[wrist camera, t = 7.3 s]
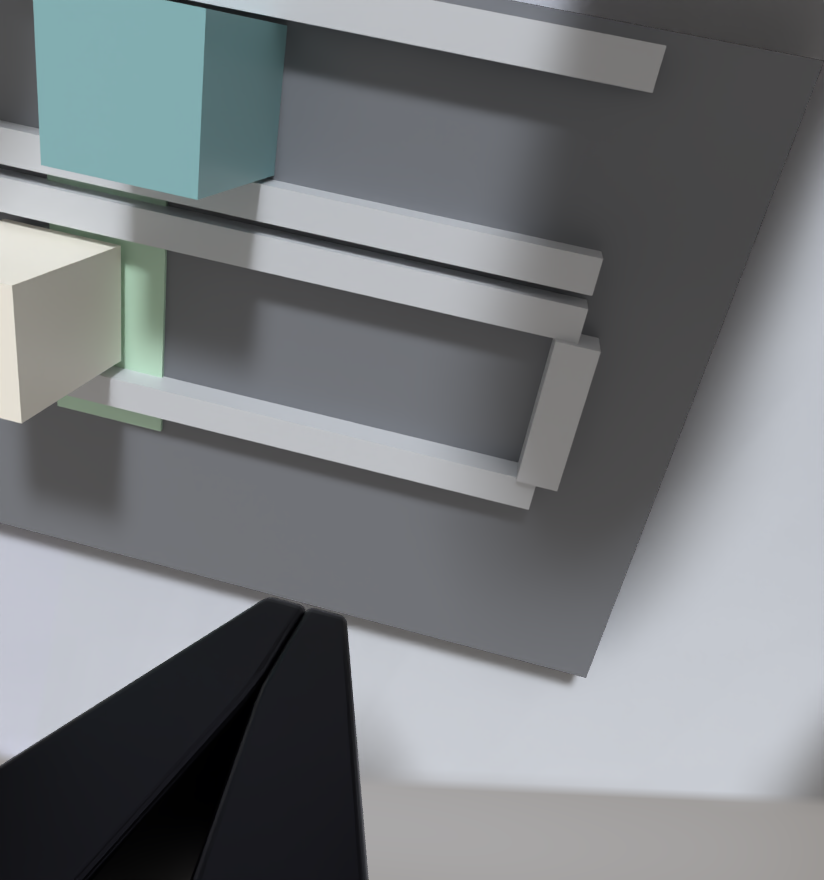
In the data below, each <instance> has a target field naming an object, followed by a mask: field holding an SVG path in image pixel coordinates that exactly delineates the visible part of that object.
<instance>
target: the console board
mask: <svg viewBox="0 0 824 880" xmlns="http://www.w3.org/2000/svg"><path fill="white" fill-rule="evenodd" d="M823 63H824V61H823V60H818V59H813V58H808V57H802V56H797V55H792V54H787V53H782V52H777V51H771V50H766V49H761V48H756V47H751V46H746V45H740V44H735V43H730V42H725V41H720V40H714V39H709V38H704V37H699V36H694V35H689V34H683V33H678V32H673V31H668V30H663V29H658V28H652V27H647V26H642V25H637V24H632V23H626V22H621V21H616V20H611V19H606V18H601V17H595V16H590V15H585V14H580V13H575V12H570V11H564V10H559V9H554V8H549V7H544V6H538V5H533V4H528V3H523V2H518V1H513V0H0V220H3V219H8V220H12V221H17V222H21V223H25V224H30V225H34V226H39V227H43V228H47V229H52V230H56V231H60V232H65V233H69V234H73V235H78V236H82V237H86V238H91V239H95V240H100V241H104V242H108V243H113V244H117V245H121V361H120V362H118V363H117V364H115V365H113V366H112V367H110V368H109V369H107V370H106V371H104V372H102V373H101V374H99V375H98V376H96V377H95V378H93V379H91V380H90V381H88V382H87V383H85V384H83V385H82V386H80V387H79V388H77V389H76V390H74V391H72V392H71V393H69V394H68V395H66V396H64V397H63V398H61V399H60V400H58V401H57V402H55V403H53V404H52V405H50V406H49V407H47V408H45V409H44V410H42V411H41V412H39V413H38V414H36V415H34V416H33V417H31V418H30V419H28V420H26V421H25V422H23V423H18V422H14V421H10V420H6V419H2V418H0V523H3V524H7V525H10V526H14V527H18V528H22V529H26V530H29V531H33V532H37V533H41V534H44V535H48V536H52V537H56V538H60V539H63V540H67V541H71V542H75V543H78V544H82V545H86V546H90V547H94V548H97V549H101V550H105V551H109V552H112V553H116V554H120V555H124V556H128V557H131V558H135V559H139V560H143V561H146V562H150V563H154V564H158V565H162V566H165V567H169V568H173V569H177V570H180V571H184V572H188V573H192V574H196V575H199V576H203V577H207V578H211V579H215V580H218V581H222V582H226V583H230V584H233V585H237V586H241V587H245V588H249V589H252V590H256V591H260V592H264V593H267V594H271V595H275V596H279V597H283V598H286V599H290V600H294V601H298V602H301V603H305V604H309V605H313V606H317V607H320V608H324V609H328V610H332V611H335V612H339V613H343V614H347V615H351V616H354V617H358V618H362V619H366V620H369V621H373V622H377V623H381V624H385V625H388V626H392V627H396V628H400V629H403V630H407V631H411V632H415V633H419V634H422V635H426V636H430V637H434V638H437V639H441V640H445V641H449V642H453V643H456V644H460V645H464V646H468V647H471V648H475V649H479V650H483V651H487V652H490V653H494V654H498V655H502V656H506V657H509V658H513V659H517V660H521V661H524V662H528V663H532V664H536V665H540V666H543V667H547V668H551V669H555V670H558V671H562V672H566V673H570V674H574V675H577V676H581V677H585V678H586V676H587V674H588V671H589V668H590V666H591V663H592V661H593V658H594V655H595V653H596V650H597V648H598V645H599V643H600V640H601V637H602V635H603V632H604V630H605V627H606V624H607V622H608V619H609V617H610V614H611V612H612V609H613V606H614V604H615V601H616V599H617V596H618V593H619V591H620V588H621V586H622V583H623V580H624V578H625V575H626V573H627V570H628V568H629V565H630V562H631V560H632V557H633V555H634V552H635V549H636V547H637V544H638V542H639V539H640V537H641V534H642V531H643V529H644V526H645V524H646V521H647V518H648V516H649V513H650V511H651V508H652V505H653V503H654V500H655V498H656V495H657V493H658V490H659V487H660V485H661V482H662V480H663V477H664V474H665V472H666V469H667V467H668V464H669V461H670V459H671V456H672V454H673V451H674V449H675V446H676V443H677V441H678V438H679V436H680V433H681V430H682V428H683V425H684V423H685V420H686V418H687V415H688V412H689V410H690V407H691V405H692V402H693V399H694V397H695V394H696V392H697V389H698V386H699V384H700V381H701V379H702V376H703V374H704V371H705V368H706V366H707V363H708V361H709V358H710V355H711V353H712V350H713V348H714V345H715V343H716V340H717V337H718V335H719V332H720V330H721V327H722V324H723V322H724V319H725V317H726V314H727V311H728V309H729V306H730V304H731V301H732V299H733V296H734V293H735V291H736V288H737V286H738V283H739V280H740V278H741V275H742V273H743V270H744V267H745V265H746V262H747V260H748V257H749V255H750V252H751V249H752V247H753V244H754V242H755V239H756V236H757V234H758V231H759V229H760V226H761V224H762V221H763V218H764V216H765V213H766V211H767V208H768V205H769V203H770V200H771V198H772V195H773V192H774V190H775V187H776V185H777V182H778V180H779V177H780V174H781V172H782V169H783V167H784V164H785V161H786V159H787V156H788V154H789V151H790V149H791V146H792V143H793V141H794V138H795V136H796V133H797V130H798V128H799V125H800V123H801V120H802V117H803V115H804V112H805V110H806V107H807V105H808V102H809V99H810V97H811V94H812V92H813V89H814V86H815V84H816V81H817V79H818V76H819V74H820V71H821V68H822V66H823Z"/></svg>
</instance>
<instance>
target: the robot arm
mask: <svg viewBox="0 0 824 880" xmlns="http://www.w3.org/2000/svg"><path fill="white" fill-rule="evenodd" d="M0 880H369V879H368V868H367V856H366V845H365V833H364V820H363V808H362V797H361V785H360V773H359V761H358V749H357V737H356V726H355V714H354V702H353V690H352V678H351V666H350V655H349V643H348V631H347V621H346V619H345V618H344V617H343V616H342V615H339V614H335V613H331V612H327V611H323V610H319V609H316V608H311V609H308V610H307V611H306V610H305V608H304V607H303V606H302V605H300V604H296V603H292V602H288V601H285V600H281V599H277V598H266V599H263V600H262V601H260V602H258V603H257V604H255V605H254V606H252V607H250V608H249V609H247V610H246V611H244V612H243V613H241V614H239V615H238V616H236V617H235V618H233V619H231V620H230V621H228V622H227V623H225V624H224V625H222V626H220V627H219V628H217V629H216V630H214V631H212V632H211V633H209V634H208V635H206V636H205V637H203V638H201V639H200V640H198V641H197V642H195V643H193V644H192V645H190V646H189V647H187V648H186V649H184V650H182V651H181V652H179V653H178V654H176V655H174V656H173V657H171V658H170V659H168V660H167V661H165V662H163V663H162V664H160V665H159V666H157V667H155V668H154V669H152V670H151V671H149V672H148V673H146V674H144V675H143V676H141V677H140V678H138V679H136V680H135V681H133V682H132V683H130V684H129V685H127V686H125V687H124V688H122V689H121V690H119V691H117V692H116V693H114V694H113V695H111V696H110V697H108V698H106V699H105V700H103V701H102V702H100V703H98V704H97V705H95V706H94V707H92V708H91V709H89V710H87V711H86V712H84V713H83V714H81V715H79V716H78V717H76V718H75V719H73V720H72V721H70V722H68V723H67V724H65V725H64V726H62V727H60V728H59V729H57V730H56V731H54V732H53V733H51V734H49V735H48V736H46V737H45V738H43V739H41V740H40V741H38V742H37V743H35V744H34V745H32V746H30V747H29V748H27V749H26V750H24V751H22V752H21V753H19V754H18V755H16V756H15V757H13V758H11V759H10V760H8V761H7V762H5V763H4V764H2V765H1V766H0Z"/></svg>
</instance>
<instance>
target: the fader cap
mask: <svg viewBox="0 0 824 880" xmlns="http://www.w3.org/2000/svg"><path fill="white" fill-rule="evenodd" d="M120 361H121V245H117V244H113V243H108V242H104V241H100V240H95V239H91V238H86V237H82V236H78V235H73V234H69V233H65V232H60V231H56V230H52V229H47V228H43V227H39V226H34V225H30V224H25V223H21V222H17V221H12V220H8V219H3V220H0V418H2V419H6V420H10V421H14V422H18V423H23V422H25V421H26V420H28V419H30V418H31V417H33V416H34V415H36V414H38V413H39V412H41V411H42V410H44V409H45V408H47V407H49V406H50V405H52V404H53V403H55V402H57V401H58V400H60V399H61V398H63V397H64V396H66V395H68V394H69V393H71V392H72V391H74V390H76V389H77V388H79V387H80V386H82V385H83V384H85V383H87V382H88V381H90V380H91V379H93V378H95V377H96V376H98V375H99V374H101V373H102V372H104V371H106V370H107V369H109V368H110V367H112V366H113V365H115V364H117V363H118V362H120Z"/></svg>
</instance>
